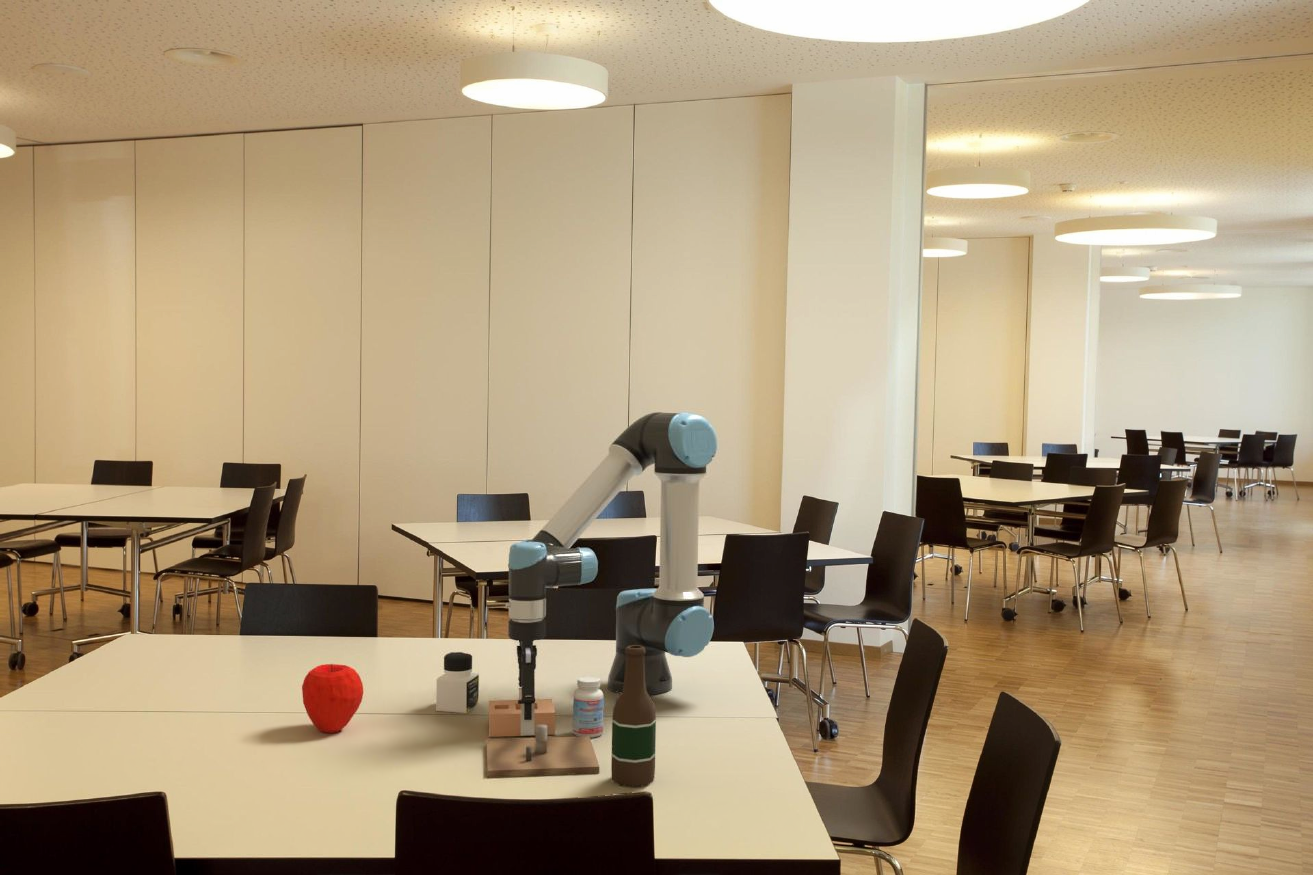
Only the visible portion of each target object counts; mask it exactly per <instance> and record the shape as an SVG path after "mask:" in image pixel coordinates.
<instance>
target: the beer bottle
mask: <svg viewBox="0 0 1313 875" xmlns="http://www.w3.org/2000/svg"><path fill="white" fill-rule="evenodd" d="M624 653H626V664H625V677H624V686H623V691H622V693H619V694H620V695H619V696H618V698H617V699H616V701H615V703H614V706H613V708H612V718H611V762H610V763H611V764H610V765H611V769H610V771H611V779H612V782H614V783H615V784H617V785H619V786H620V787H627V788H639V787H645V786H649V785H650V784H651V783H652V782H653V781H654V779H655V773H656V740H657V739H656V738H657V737H656V736H657V735H656V733H657V732H656V730H657V716H656V715H657V714H656V707H655V704H654V702H653V699H652V697H651V696H650V695H649V694H648V693H647V690H646V684H645V663H644V654H645V653H646V651H645V647H642V646H640V645H630V646H628V647H626V649H625V652H624Z"/></svg>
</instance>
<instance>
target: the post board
mask: <svg viewBox="0 0 1313 875" xmlns="http://www.w3.org/2000/svg"><path fill="white" fill-rule="evenodd" d="M534 736H535V737H530V738H529V737H526V738H525V737H523V738H522V737H521V738H498V739H497V738H493V739H486V766H487V767H486V769H487V770H486V771H487V772H486V773H487V778H501V777H502V778H505V777H507V778H509V777H531V776H534V777H536V776H558V775H559V776H561V775H584V774H587V775H588V774H600V765H599V760H598V758H597V755H596V753H595V749H594V745H593V743H592V739H591V738H590V737H589V736H581V737H578V736H556V737H555V736H554V737H553V736H551V737H548V735H547V725H543V724H541V725H536V730H535V735H534Z"/></svg>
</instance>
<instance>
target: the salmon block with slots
mask: <svg viewBox="0 0 1313 875" xmlns="http://www.w3.org/2000/svg"><path fill="white" fill-rule="evenodd" d="M518 700H519V699H499V700H498V699H496V700H488V729H489V730H488V732H489V734H488V737H489V738H490V737H491V738H492V737H493V738H494V737H495V738H497V737H499V738H500V737H520V736H521V704H518ZM553 702H554V701H553V699H552V698H535V711H534V735H533V736H535V730H536V725H541V724H543V725H547V736H554V735H555V734H556V710H555V707H554V703H553ZM524 736H525V737H526V736H530V735H523V737H524Z"/></svg>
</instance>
